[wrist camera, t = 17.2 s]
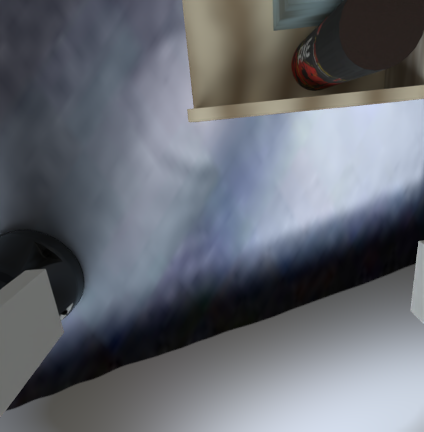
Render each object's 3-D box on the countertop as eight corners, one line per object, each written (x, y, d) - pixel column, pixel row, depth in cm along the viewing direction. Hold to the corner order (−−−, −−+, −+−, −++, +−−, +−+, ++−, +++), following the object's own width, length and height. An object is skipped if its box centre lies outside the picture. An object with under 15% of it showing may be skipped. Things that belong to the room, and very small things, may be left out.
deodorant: (287, 43, 35) (333, -12, 20) (339, 28, 34) (424, -40, 20) (296, 96, 36) (344, 80, 22) (345, 83, 36) (429, 57, 21)
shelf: (195, 121, 38) (186, 122, 28) (182, -6, 34) (165, -62, 24) (388, 102, 37) (454, 95, 27) (398, -34, 33) (481, -106, 22)
